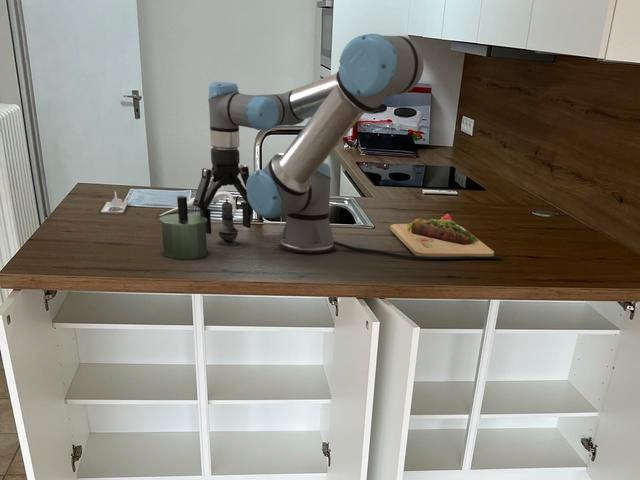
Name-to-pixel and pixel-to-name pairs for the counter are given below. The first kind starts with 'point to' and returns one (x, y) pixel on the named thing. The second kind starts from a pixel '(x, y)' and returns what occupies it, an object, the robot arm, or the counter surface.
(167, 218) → the pot lid
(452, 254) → the cutting board
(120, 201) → the car cutout
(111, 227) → the counter surface
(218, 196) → the dinosaur
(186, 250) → the pot
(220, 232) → the dark grey tall piece
